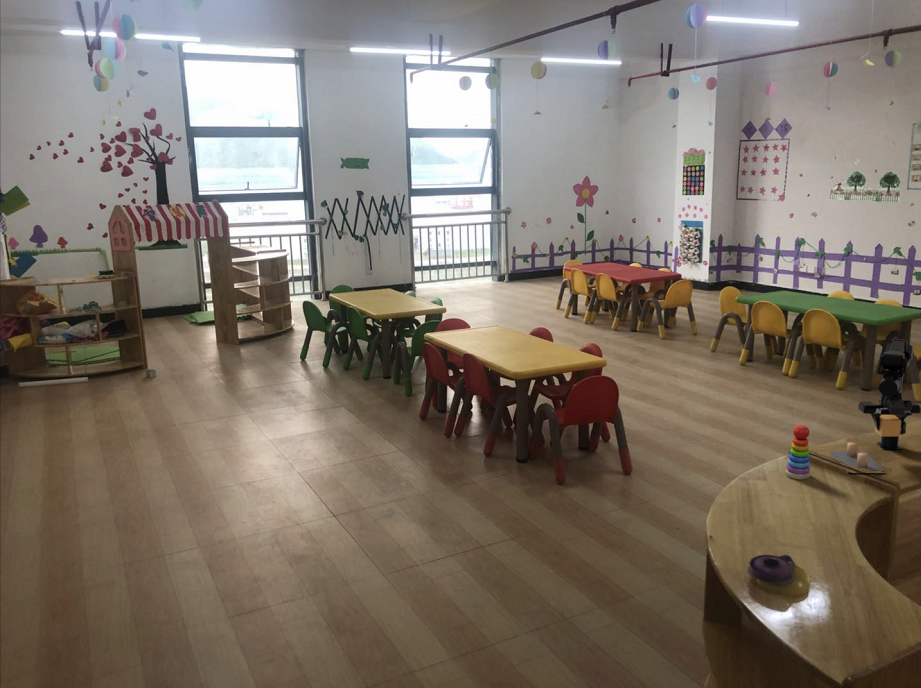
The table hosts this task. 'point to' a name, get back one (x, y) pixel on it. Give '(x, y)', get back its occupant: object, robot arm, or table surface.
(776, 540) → the table surface
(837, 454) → the plate
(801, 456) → the stacking toy
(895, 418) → the natural wood cube
